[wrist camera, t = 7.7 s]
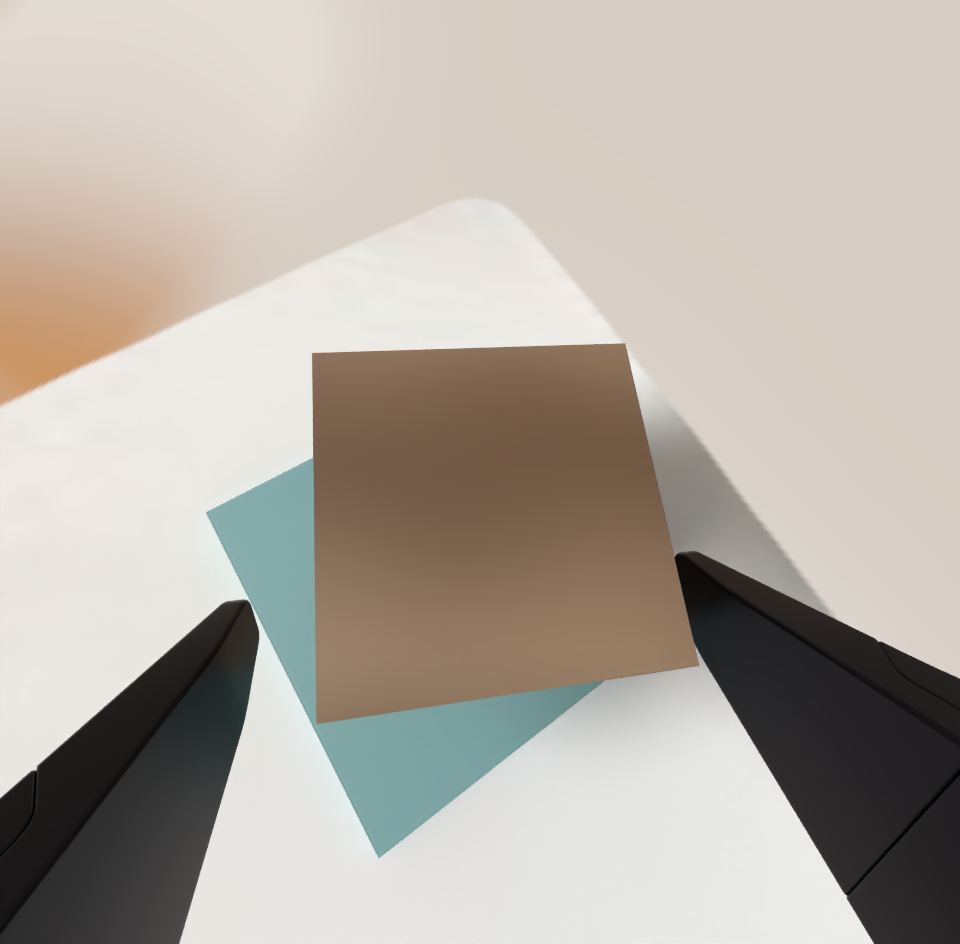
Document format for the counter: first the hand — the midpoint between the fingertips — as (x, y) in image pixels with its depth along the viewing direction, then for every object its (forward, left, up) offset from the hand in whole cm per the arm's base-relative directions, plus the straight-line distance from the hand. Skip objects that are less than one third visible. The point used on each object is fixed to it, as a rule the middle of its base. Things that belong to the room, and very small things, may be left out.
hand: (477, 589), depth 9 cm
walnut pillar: (+1, 0, -9) cm, 9 cm away
